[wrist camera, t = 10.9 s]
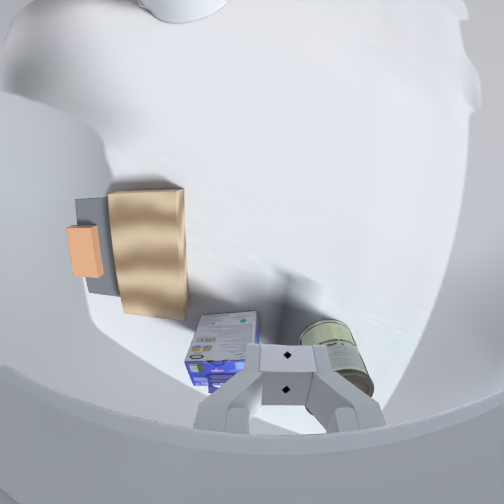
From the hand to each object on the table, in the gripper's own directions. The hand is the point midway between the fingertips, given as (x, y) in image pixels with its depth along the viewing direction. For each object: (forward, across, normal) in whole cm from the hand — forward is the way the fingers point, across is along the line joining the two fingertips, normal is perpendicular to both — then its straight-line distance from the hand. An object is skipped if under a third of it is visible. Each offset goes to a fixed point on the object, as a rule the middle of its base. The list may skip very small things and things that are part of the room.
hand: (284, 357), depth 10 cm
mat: (+31, +29, +7) cm, 43 cm away
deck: (+31, +18, +7) cm, 37 cm away
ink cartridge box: (+31, +6, +20) cm, 38 cm away
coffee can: (+31, -11, +23) cm, 40 cm away
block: (+29, +32, +7) cm, 44 cm away
